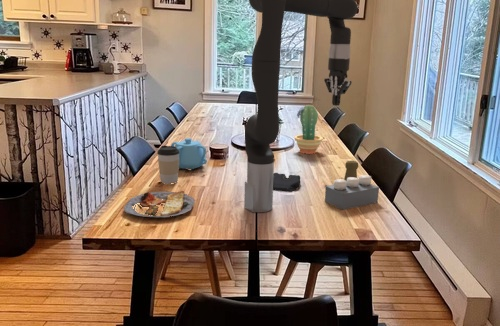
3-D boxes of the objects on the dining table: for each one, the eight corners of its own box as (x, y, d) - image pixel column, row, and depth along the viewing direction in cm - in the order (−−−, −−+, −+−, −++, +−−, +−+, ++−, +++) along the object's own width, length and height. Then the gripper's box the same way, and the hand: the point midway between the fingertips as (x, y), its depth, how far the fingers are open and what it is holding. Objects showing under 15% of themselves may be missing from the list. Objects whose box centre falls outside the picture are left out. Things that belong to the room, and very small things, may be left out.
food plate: (137, 194, 172) (137, 186, 171) (198, 197, 171) (198, 188, 170) (116, 222, 148) (116, 212, 147) (187, 225, 147) (187, 215, 146)
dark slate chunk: (253, 177, 198) (253, 167, 197) (302, 182, 192) (303, 172, 191) (242, 188, 184) (242, 176, 183) (295, 194, 178) (296, 182, 177)
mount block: (342, 209, 161) (343, 193, 159) (324, 201, 169) (325, 186, 168) (377, 202, 169) (379, 187, 168) (358, 194, 177) (360, 179, 176)
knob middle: (350, 203, 166) (352, 181, 164) (342, 199, 170) (344, 178, 168) (359, 201, 168) (361, 179, 166) (351, 197, 172) (353, 176, 170)
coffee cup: (184, 182, 188) (184, 147, 185) (167, 186, 182) (165, 150, 178) (171, 177, 194) (170, 143, 190) (153, 181, 188) (152, 146, 184)
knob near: (338, 206, 163) (339, 183, 161) (330, 202, 167) (331, 180, 165) (347, 204, 165) (349, 181, 163) (339, 200, 169) (341, 178, 167)
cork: (346, 183, 191) (348, 158, 188) (360, 186, 187) (362, 161, 184) (339, 187, 186) (341, 161, 183) (353, 190, 183) (355, 163, 180)
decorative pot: (170, 163, 217) (169, 135, 214) (203, 161, 220) (203, 134, 217) (171, 172, 202) (170, 143, 198) (207, 171, 205) (207, 141, 201)
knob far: (363, 200, 169) (364, 179, 167) (354, 197, 173) (356, 176, 170) (371, 199, 171) (373, 177, 169) (363, 195, 175) (365, 174, 173)
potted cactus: (306, 147, 255) (308, 102, 248) (328, 152, 244) (331, 106, 237) (287, 151, 245) (289, 105, 238) (309, 156, 234) (312, 108, 227)
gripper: (319, 56, 167) (316, 103, 171) (343, 58, 155) (339, 108, 160) (335, 56, 170) (332, 102, 175) (359, 58, 159) (355, 107, 164)
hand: (335, 105), depth 167 cm, fingers closed
